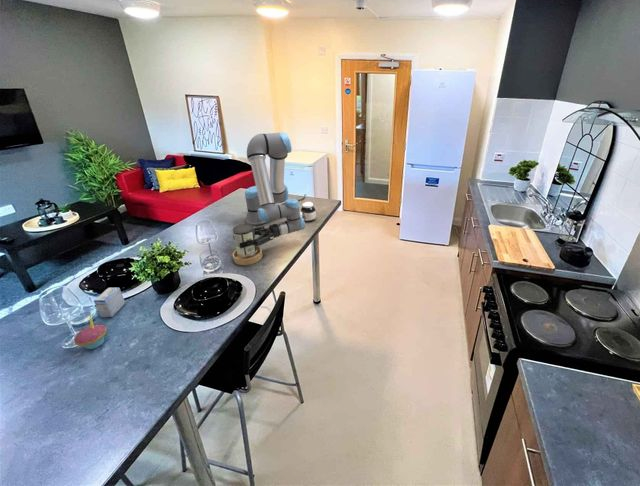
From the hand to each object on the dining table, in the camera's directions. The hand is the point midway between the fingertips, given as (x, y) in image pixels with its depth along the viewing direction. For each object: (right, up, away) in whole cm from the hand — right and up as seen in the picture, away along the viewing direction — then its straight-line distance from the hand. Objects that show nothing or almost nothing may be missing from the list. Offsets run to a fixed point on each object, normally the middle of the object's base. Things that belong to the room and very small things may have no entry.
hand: (236, 241), depth 148 cm
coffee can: (+3, -6, +6) cm, 9 cm away
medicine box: (-37, -25, -30) cm, 54 cm away
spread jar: (+25, +9, +50) cm, 57 cm away
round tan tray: (+3, -9, +7) cm, 12 cm away
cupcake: (-30, -32, -45) cm, 63 cm away
